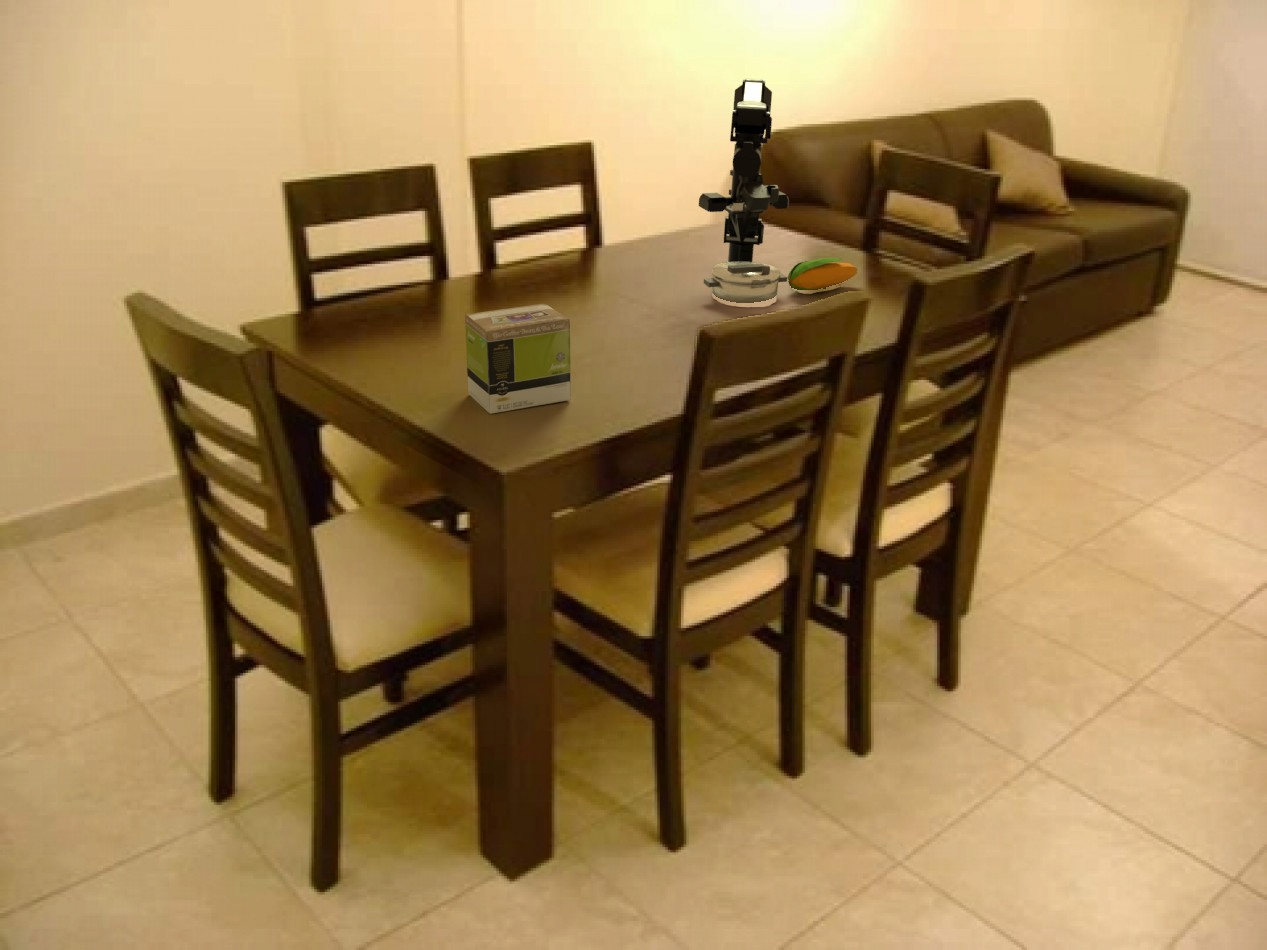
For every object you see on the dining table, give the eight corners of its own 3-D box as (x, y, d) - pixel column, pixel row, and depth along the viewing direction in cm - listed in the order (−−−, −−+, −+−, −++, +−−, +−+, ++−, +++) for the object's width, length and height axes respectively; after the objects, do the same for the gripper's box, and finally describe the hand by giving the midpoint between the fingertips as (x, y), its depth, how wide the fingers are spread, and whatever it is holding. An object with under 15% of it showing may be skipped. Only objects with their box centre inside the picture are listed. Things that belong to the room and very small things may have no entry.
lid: (701, 268, 261) (702, 256, 260) (762, 264, 266) (763, 252, 265) (729, 287, 248) (730, 275, 247) (793, 282, 253) (794, 270, 252)
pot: (692, 291, 262) (694, 269, 260) (768, 286, 268) (770, 264, 266) (718, 311, 251) (720, 287, 248) (796, 304, 257) (799, 281, 254)
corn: (781, 258, 261) (846, 247, 272) (776, 291, 265) (841, 278, 276) (804, 269, 256) (869, 257, 267) (799, 302, 260) (864, 289, 271)
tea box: (546, 382, 211) (547, 301, 204) (571, 402, 203) (572, 318, 196) (466, 394, 204) (464, 311, 198) (488, 416, 196) (487, 329, 190)
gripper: (721, 177, 241) (716, 253, 248) (804, 173, 247) (797, 248, 254) (700, 166, 250) (695, 239, 257) (780, 163, 256) (773, 235, 263)
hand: (741, 241), depth 257 cm, fingers closed
